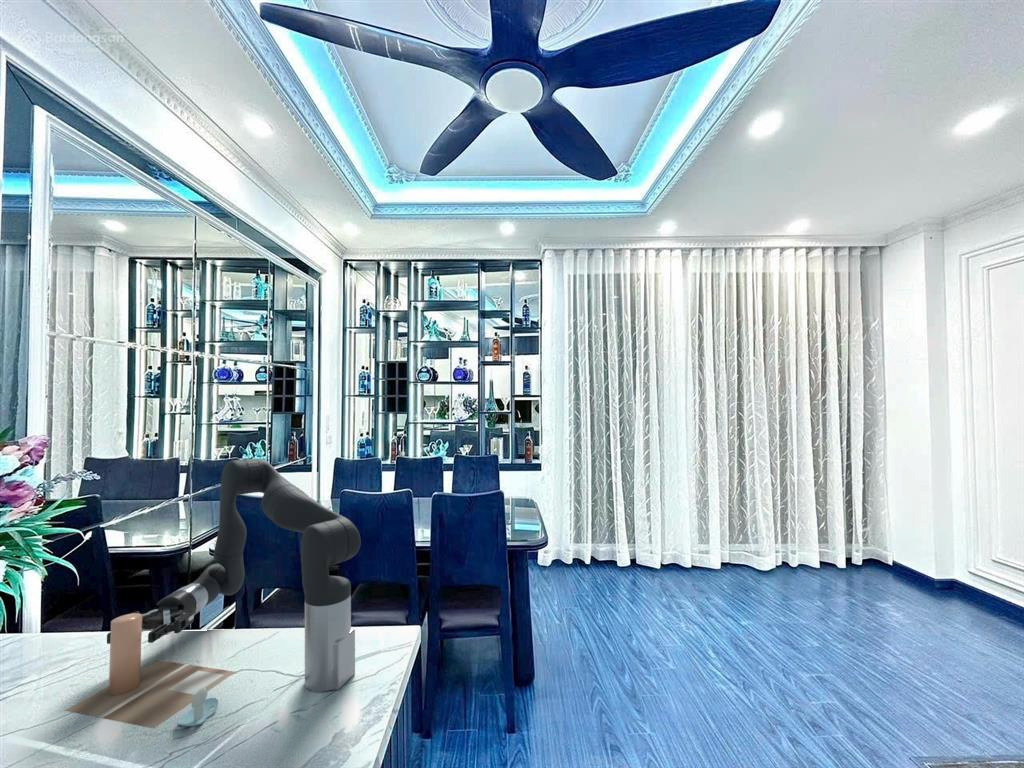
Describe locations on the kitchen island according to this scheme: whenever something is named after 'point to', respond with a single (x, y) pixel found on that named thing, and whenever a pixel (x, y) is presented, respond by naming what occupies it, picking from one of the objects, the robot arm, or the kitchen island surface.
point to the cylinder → (125, 653)
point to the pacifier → (198, 710)
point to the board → (153, 694)
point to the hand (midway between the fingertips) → (129, 638)
